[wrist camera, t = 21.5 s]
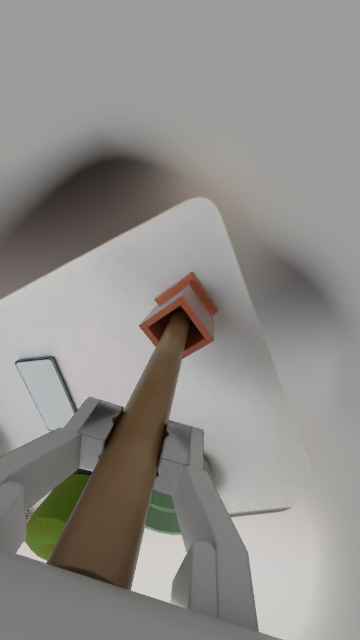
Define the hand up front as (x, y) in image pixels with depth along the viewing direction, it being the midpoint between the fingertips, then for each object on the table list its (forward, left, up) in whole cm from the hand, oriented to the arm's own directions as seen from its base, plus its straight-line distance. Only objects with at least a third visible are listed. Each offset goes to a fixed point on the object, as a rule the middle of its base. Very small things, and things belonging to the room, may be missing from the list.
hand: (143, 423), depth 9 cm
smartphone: (0, +29, -19) cm, 35 cm away
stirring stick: (0, 0, -14) cm, 14 cm away
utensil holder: (0, 0, -19) cm, 19 cm away
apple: (-20, +40, -19) cm, 49 cm away
